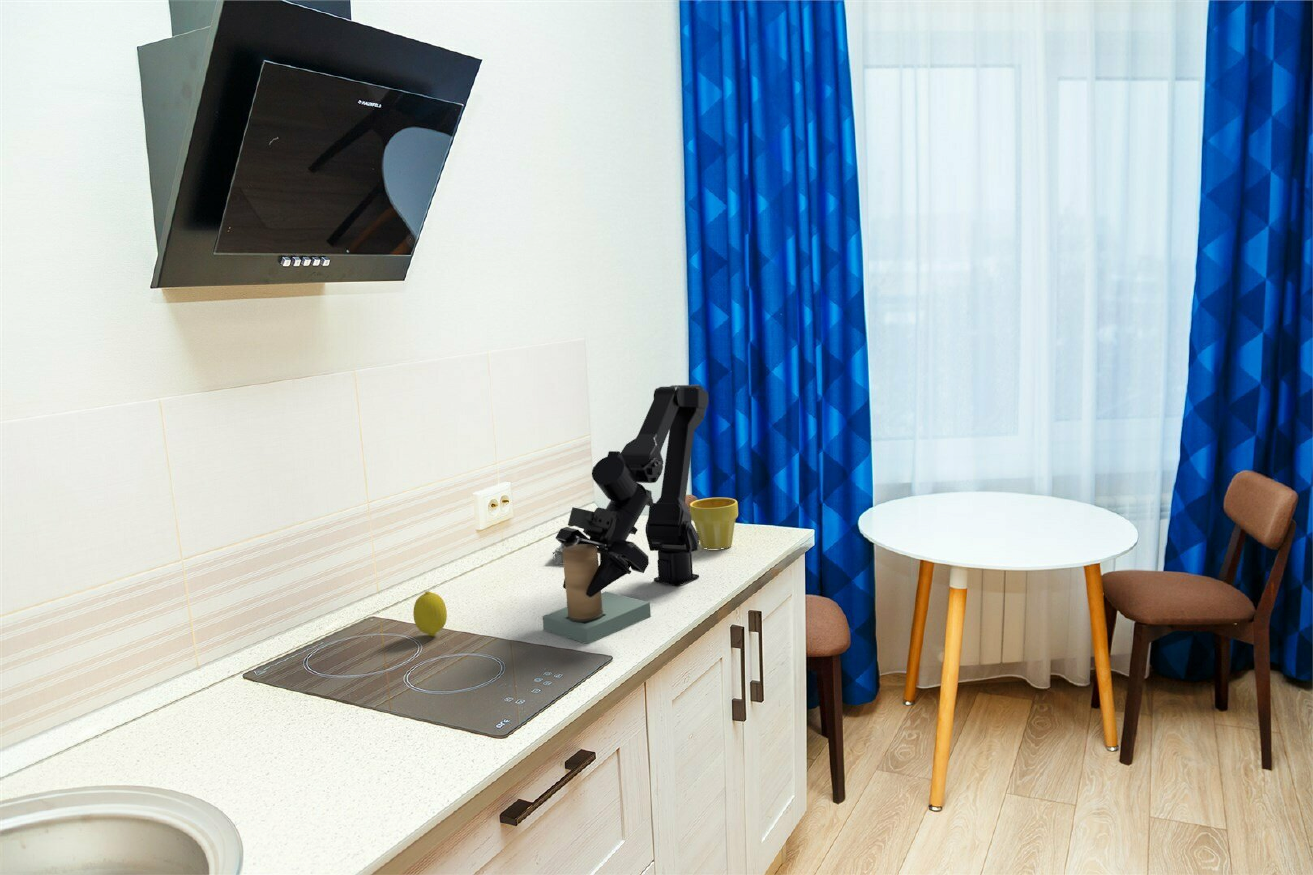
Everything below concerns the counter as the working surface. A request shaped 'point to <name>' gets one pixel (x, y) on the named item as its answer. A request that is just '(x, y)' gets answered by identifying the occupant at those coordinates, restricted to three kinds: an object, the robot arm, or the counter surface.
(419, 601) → the lemon
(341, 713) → the counter surface
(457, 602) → the counter surface
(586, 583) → the peg
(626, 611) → the board
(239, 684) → the counter surface
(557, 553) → the egg carton
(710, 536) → the plant pot
